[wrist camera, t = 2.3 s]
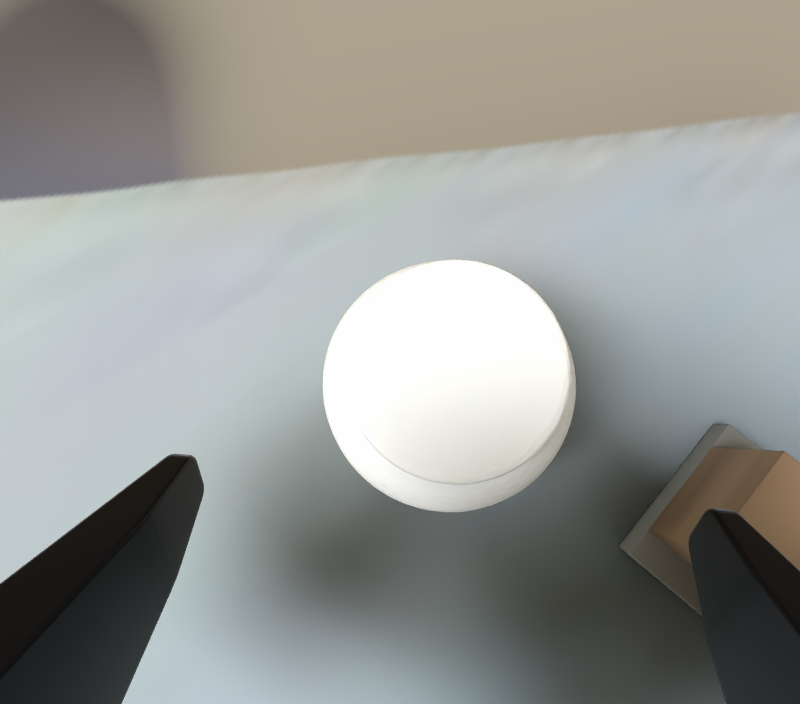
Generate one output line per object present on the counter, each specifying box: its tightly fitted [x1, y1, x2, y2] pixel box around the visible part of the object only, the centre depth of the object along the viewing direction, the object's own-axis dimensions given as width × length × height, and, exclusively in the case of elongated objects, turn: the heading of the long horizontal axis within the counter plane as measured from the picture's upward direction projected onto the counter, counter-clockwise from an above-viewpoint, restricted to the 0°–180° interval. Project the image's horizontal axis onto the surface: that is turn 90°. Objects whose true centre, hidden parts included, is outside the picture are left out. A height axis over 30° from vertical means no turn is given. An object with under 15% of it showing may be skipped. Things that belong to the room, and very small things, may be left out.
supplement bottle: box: [323, 260, 576, 512], centre depth 14 cm, size 6×6×10 cm
